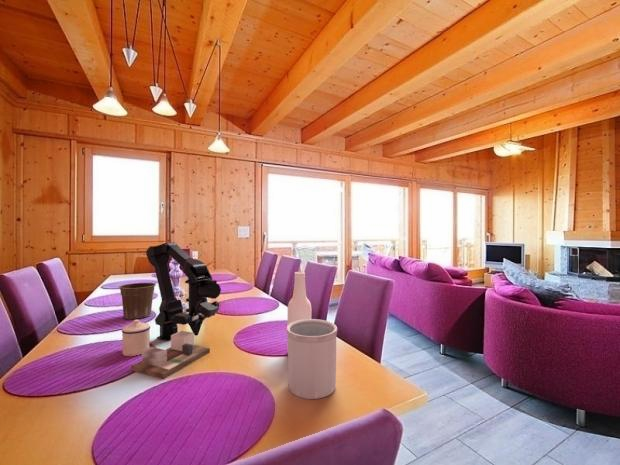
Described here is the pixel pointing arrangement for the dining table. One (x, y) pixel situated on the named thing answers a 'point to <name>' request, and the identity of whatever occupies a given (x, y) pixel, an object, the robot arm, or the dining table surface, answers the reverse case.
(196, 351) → the gauge board
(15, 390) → the dining table surface
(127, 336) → the cream canister
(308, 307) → the alcohol
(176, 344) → the pink rectangular block
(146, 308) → the plant pot
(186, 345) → the dark grey upright block
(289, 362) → the utensil holder
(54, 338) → the dining table surface
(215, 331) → the dining table surface
